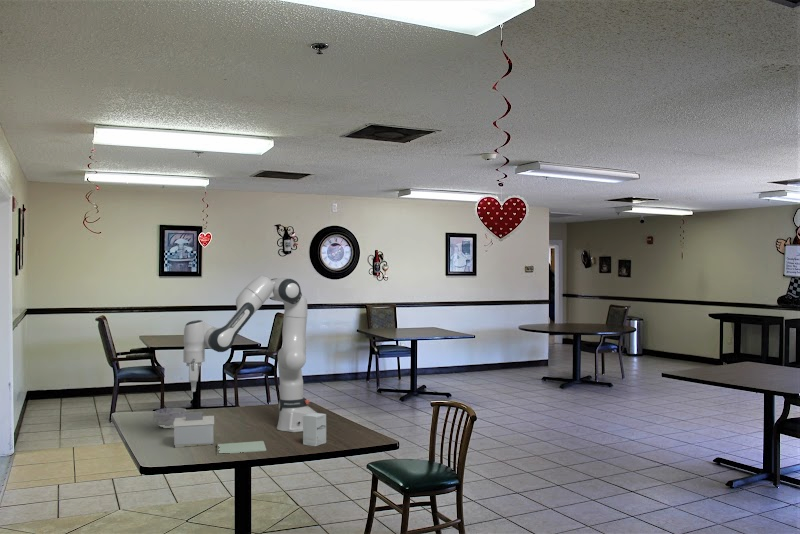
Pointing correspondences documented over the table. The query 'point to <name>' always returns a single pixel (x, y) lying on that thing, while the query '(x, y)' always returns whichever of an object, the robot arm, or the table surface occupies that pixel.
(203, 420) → the lid
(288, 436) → the table surface
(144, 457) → the table surface
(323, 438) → the supplement box
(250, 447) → the mat
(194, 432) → the storage box
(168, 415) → the paper bowls
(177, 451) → the table surface
